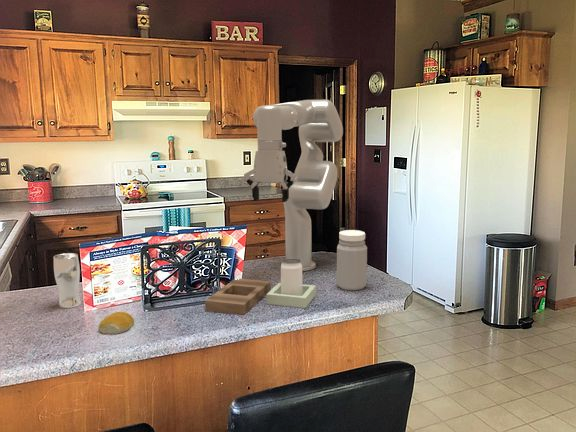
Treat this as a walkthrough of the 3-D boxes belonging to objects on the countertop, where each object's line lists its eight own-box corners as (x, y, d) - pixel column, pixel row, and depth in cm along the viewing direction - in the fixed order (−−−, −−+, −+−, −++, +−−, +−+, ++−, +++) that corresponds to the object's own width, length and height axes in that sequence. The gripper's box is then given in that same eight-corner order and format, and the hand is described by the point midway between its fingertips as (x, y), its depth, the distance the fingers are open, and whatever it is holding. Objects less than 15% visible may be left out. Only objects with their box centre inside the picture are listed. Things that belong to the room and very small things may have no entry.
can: (294, 304, 152) (293, 265, 150) (276, 300, 156) (276, 261, 153) (306, 298, 157) (306, 260, 155) (289, 294, 161) (289, 257, 159)
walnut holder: (235, 287, 168) (235, 278, 168) (270, 290, 165) (270, 281, 164) (205, 310, 148) (204, 300, 147) (244, 314, 144) (243, 304, 143)
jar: (363, 292, 162) (364, 236, 158) (333, 289, 165) (333, 234, 161) (368, 283, 171) (369, 230, 167) (339, 280, 174) (340, 228, 170)
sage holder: (279, 291, 164) (279, 282, 163) (316, 294, 160) (316, 285, 160) (266, 303, 152) (266, 294, 152) (305, 308, 149) (305, 298, 148)
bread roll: (138, 322, 140) (137, 308, 139) (125, 335, 131) (124, 320, 131) (108, 321, 141) (107, 307, 140) (93, 334, 132) (92, 319, 131)
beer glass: (60, 301, 156) (55, 253, 153) (84, 299, 157) (80, 252, 155) (54, 309, 149) (50, 259, 147) (80, 307, 151) (76, 258, 148)
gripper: (299, 146, 161) (300, 200, 164) (248, 145, 166) (249, 198, 170) (292, 147, 154) (293, 203, 157) (239, 146, 159) (240, 201, 163)
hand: (270, 200), depth 163 cm, fingers open, 9 cm apart
